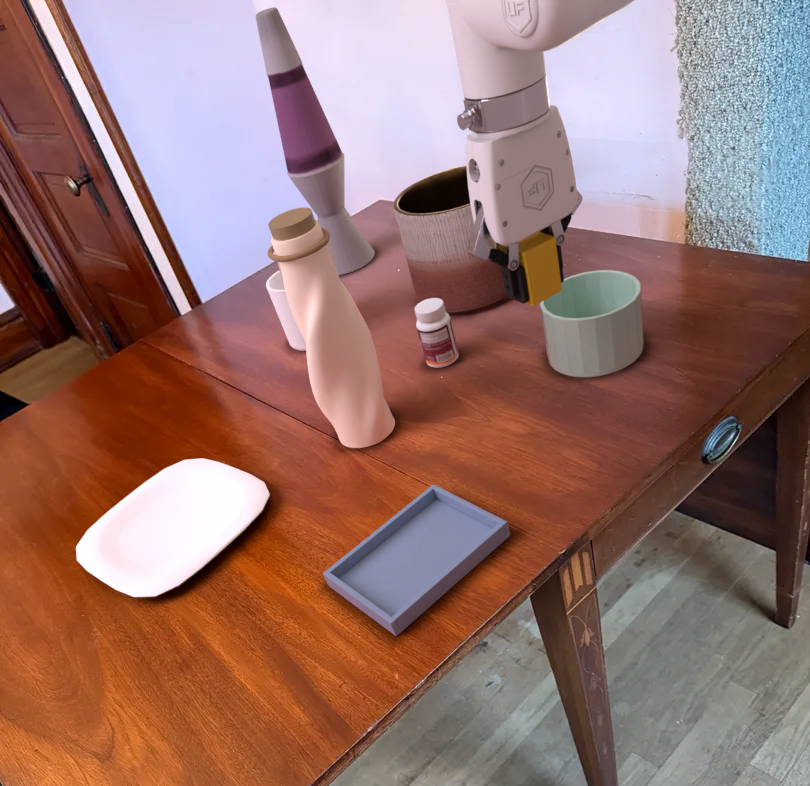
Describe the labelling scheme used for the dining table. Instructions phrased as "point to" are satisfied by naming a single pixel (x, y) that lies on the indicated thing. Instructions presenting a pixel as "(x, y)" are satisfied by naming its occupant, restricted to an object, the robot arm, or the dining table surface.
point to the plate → (171, 527)
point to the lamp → (310, 144)
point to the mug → (285, 312)
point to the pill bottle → (436, 333)
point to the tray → (416, 557)
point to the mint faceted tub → (594, 323)
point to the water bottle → (330, 331)
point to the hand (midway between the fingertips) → (535, 288)
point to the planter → (445, 244)
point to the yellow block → (540, 266)
